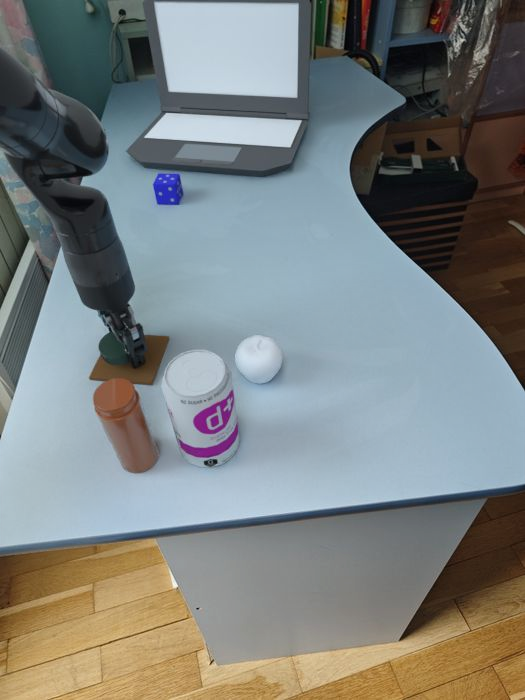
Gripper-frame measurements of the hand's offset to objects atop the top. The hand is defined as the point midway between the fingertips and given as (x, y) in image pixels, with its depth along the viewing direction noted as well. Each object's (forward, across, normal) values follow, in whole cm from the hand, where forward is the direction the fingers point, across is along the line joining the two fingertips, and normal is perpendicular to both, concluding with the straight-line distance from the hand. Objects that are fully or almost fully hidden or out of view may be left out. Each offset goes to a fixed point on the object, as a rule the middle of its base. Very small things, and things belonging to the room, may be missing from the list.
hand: (129, 353), depth 77 cm
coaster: (+1, 0, 0) cm, 1 cm away
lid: (-3, 0, +1) cm, 3 cm away
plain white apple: (+2, -16, -14) cm, 21 cm away
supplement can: (+2, -21, -1) cm, 21 cm away
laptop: (+2, +54, -53) cm, 76 cm away
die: (+2, +40, -30) cm, 50 cm away
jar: (+1, -17, +7) cm, 18 cm away
